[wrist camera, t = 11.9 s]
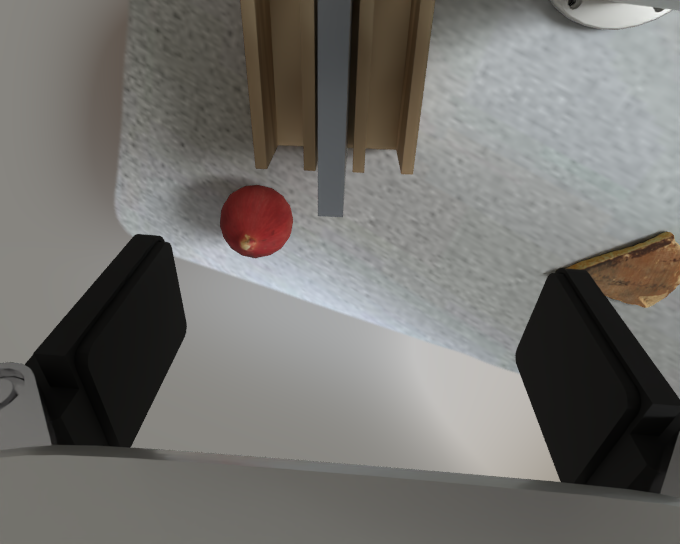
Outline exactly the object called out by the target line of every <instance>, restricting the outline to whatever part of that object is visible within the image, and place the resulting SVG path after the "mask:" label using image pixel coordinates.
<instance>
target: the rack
mask: <svg viewBox="0 0 680 544" xmlns="http://www.w3.org/2000/svg"><path fill="white" fill-rule="evenodd" d="M240 3H241V14H242V25H243V36H244V47H245V58H246V69H247V80H248V91H249V101H250V112H251V123H252V134H253V145H254V156H255V167H256V169H267V168H268V166H269V164H270V161H271V159H272V157H273V155H274V153H275V151H276V149H277V146H278V145H285V146H303V149H304V170H307V171H316V166H317V161H318V0H240ZM434 5H435V0H353V17H352V43H351V69H350V94H349V120H348V146H347V148H353V172H360V173H364V165H365V148H366V149H394V150H396V151H397V156H398V160H399V165H400V170H401V174H413V169H414V161H415V153H416V146H417V138H418V130H419V122H420V114H421V107H422V99H423V91H424V83H425V76H426V68H427V60H428V52H429V44H430V37H431V29H432V21H433V13H434Z"/></svg>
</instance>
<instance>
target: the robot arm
mask: <svg viewBox="0 0 680 544" xmlns="http://www.w3.org/2000/svg"><path fill="white" fill-rule="evenodd" d="M568 1H569V0H550V2H551V3H552V4H553V5H554V7H555V8H556V9H557V10H558V11H559V12H560V13H562V14H563V15H564V16H566V17H567V18H568V19H570V20H572V21H574V22H577V23H579V24H582V25H584V26H587V27H592V28H597V29H609V30H619V29H625V28H631V27H636V26H639V25H642V24H645V23H647V22H650V21H653V20H656V19H658V18H660V17H661V16H663V15H665V14H667V13H669V12H671V11H672V10H678V11H680V0H573V2H572V4H571V5H568ZM186 327H187V326H186V319H185V314H184V308H183V303H182V298H181V293H180V288H179V282H178V277H177V272H176V267H175V262H174V257H173V252H172V247H171V245H170V243H168V242H165V241H164V239H163V238H162V237H161V236H155V235H143V234H136V235H135V236H134V237H133V238H132V239H131V240H130V241H129V242H128V244H127V245H126V246H125V247H124V248H123V249H122V251H121V252H120V253H119V254H118V255H117V257H116V258H115V259H114V260H113V261H112V262H111V263H110V265H109V266H108V267H107V268H106V269H105V270H104V272H103V273H102V274H101V275H100V276H99V277H98V279H97V280H96V281H95V282H94V283H93V284H92V286H91V287H90V288H89V289H88V290H87V292H86V293H85V294H84V295H83V296H82V297H81V298H80V300H79V301H78V302H77V303H76V304H75V305H74V307H73V308H72V309H71V310H70V311H69V312H68V314H67V315H66V316H65V317H64V318H63V319H62V321H61V322H60V323H59V324H58V325H57V326H56V328H55V329H54V330H53V331H52V332H51V333H50V335H49V336H48V337H47V338H46V339H45V340H44V342H43V343H42V344H41V345H40V346H39V347H38V349H37V350H36V351H35V352H34V354H33V356H32V357H31V358H30V359H29V360H28V361H27V363H26V364H25V365H24V364H19V363H14V362H7V363H0V544H680V399H679V398H678V396H677V395H676V393H675V392H674V391H673V389H672V388H671V386H670V385H669V384H668V382H667V381H666V380H665V378H664V377H663V375H662V374H661V373H660V371H659V370H658V368H657V367H656V366H655V364H654V363H653V362H652V360H651V359H650V357H649V356H648V355H647V353H646V352H645V350H644V349H643V348H642V346H641V345H640V343H639V342H638V341H637V339H636V338H635V337H634V335H633V334H632V332H631V331H630V330H629V328H628V327H627V325H626V324H625V323H624V321H623V320H622V318H621V317H620V316H619V314H618V313H617V312H616V310H615V309H614V307H613V306H612V305H611V303H610V302H609V300H608V299H607V298H606V296H605V295H604V294H603V292H602V291H601V289H600V288H599V287H598V285H597V284H596V282H595V281H594V280H593V278H592V277H591V275H590V274H589V273H588V272H587V271H586V270H580V269H568V268H560V269H558V270H557V271H556V272H555V273H551V274H550V275H549V276H548V277H547V279H546V282H545V284H544V287H543V289H542V291H541V294H540V296H539V298H538V301H537V303H536V305H535V308H534V310H533V312H532V315H531V317H530V319H529V322H528V324H527V326H526V329H525V331H524V333H523V336H522V338H521V341H520V343H519V345H518V348H517V350H516V364H517V367H518V370H519V372H520V375H521V378H522V380H523V383H524V386H525V388H526V391H527V394H528V396H529V399H530V401H531V404H532V407H533V410H534V412H535V415H536V417H537V420H538V423H539V425H540V428H541V431H542V434H543V436H544V438H545V442H546V444H547V447H548V450H549V452H550V455H551V458H552V460H553V463H554V466H555V468H556V471H557V474H558V476H559V479H560V481H561V482H553V481H541V480H531V479H519V478H508V477H507V478H506V477H496V476H484V475H473V474H461V473H450V472H439V471H426V470H415V469H403V468H391V467H379V466H367V465H354V464H341V463H330V462H318V461H305V460H293V459H280V458H267V457H254V456H241V455H227V454H214V453H202V452H201V453H200V452H189V451H175V450H160V449H143V448H130V447H131V446H132V444H133V441H134V439H135V437H136V435H137V433H138V431H139V429H140V427H141V425H142V423H143V421H144V419H145V417H146V415H147V412H148V410H149V409H150V407H151V405H152V403H153V401H154V399H155V396H156V394H157V392H158V390H159V388H160V386H161V384H162V382H163V380H164V378H165V376H166V374H167V372H168V370H169V367H170V366H171V364H172V362H173V360H174V358H175V356H176V353H177V351H178V349H179V347H180V345H181V343H182V341H183V339H184V337H185V334H186Z"/></svg>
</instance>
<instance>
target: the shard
mask: <svg viewBox="0 0 680 544" xmlns="http://www.w3.org/2000/svg"><path fill="white" fill-rule="evenodd" d="M568 269H580V270H586V271H587V272H588V273H589V274H590V275H591V277H592V278H593V280H594V281H595V282H596V284H597V285H598V287H599V288H600V289H601V291H602V292H603V294H604V295H605V296H608V297H610V298H612V299H615V300H620V301H622V302H624V303H628V304H632V305H633V304H636V305H639V306H641V307H644V308H647V307H650V306H652V305H654V304H655V303H657V302H659V301H660V300H662V299H664V298H665V297H667V296H668V294H669V293H671V292H672V291H673V290H674V289H675V288H676V287H677V286H678V285H679V284H680V246H679V245H678V243H676V242H675V239H674V235H673V234H672V233H671V232H664V233H661V234H659V235H658V236H656V237H655V238H652V239H650V240H647V241H646V242H644V243H639V244H637V245H635V246H632V247H628V248H624V249H622V250H617V251H613V252H610V253H607V254H603V255H601V256H597V257H594V258H591V259H587V260H584V261H581V262H579V263H577V264H574V265H572V266H570V267H568Z"/></svg>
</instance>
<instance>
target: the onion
mask: <svg viewBox="0 0 680 544" xmlns="http://www.w3.org/2000/svg"><path fill="white" fill-rule="evenodd" d="M292 224H293V217H292V212H291V208H290V205H289V204H288V203H287V201H286V200H285V198H284V197H283V196H282V195H281V194H279V193H278V192H277V191H275V190H274V189H272V188H269V187H265V186H260V185H252V186H244V187H243V188H241V189H239V190H237V191H235V192H233V193H232V194H230V196H229V197H228V199H227V200H226V202H225V203H224V205H223V207H222V210H221V218H220V227H221V230H222V234H223V237H224V239H225V240H226V242H227V243H228V244H229V246H230V247H231V248H232V249H233V250H235V251H236V252H238V253H239V254H241V255H242V256H247V257H252V258H258V257H263V256H268V255H271V254H273V253H274V252H276V251H278V250H279V249H281V248H282V247H283V245H284V244H285V243H286V241H287V240H288V238H289V237H290V234H291V229H292Z"/></svg>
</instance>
